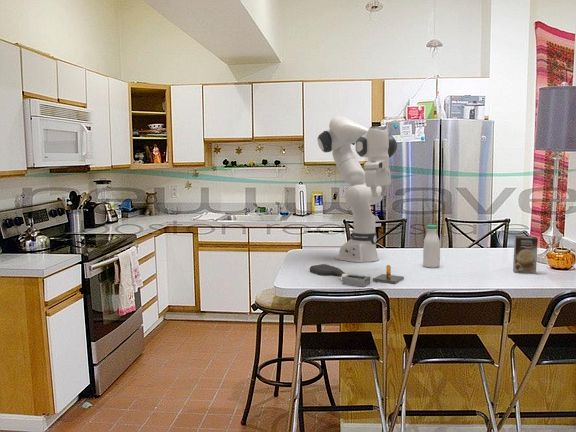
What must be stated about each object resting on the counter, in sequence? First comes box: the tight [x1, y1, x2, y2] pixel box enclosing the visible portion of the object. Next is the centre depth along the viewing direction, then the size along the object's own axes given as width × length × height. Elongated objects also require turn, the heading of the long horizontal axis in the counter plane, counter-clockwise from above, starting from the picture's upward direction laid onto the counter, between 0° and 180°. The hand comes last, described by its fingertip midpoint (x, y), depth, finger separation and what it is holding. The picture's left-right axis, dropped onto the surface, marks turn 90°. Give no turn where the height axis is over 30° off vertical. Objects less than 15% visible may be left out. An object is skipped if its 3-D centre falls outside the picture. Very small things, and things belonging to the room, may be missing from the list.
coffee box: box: [512, 235, 539, 275], centre depth 232 cm, size 9×6×16 cm
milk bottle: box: [422, 224, 441, 269], centre depth 247 cm, size 8×8×20 cm
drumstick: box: [309, 263, 348, 281], centre depth 233 cm, size 3×11×24 cm
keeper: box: [372, 264, 405, 285], centre depth 221 cm, size 10×10×7 cm
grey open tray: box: [341, 274, 371, 288], centre depth 215 cm, size 10×6×3 cm, turn 57°
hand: (379, 196), depth 222 cm, fingers open, 8 cm apart
